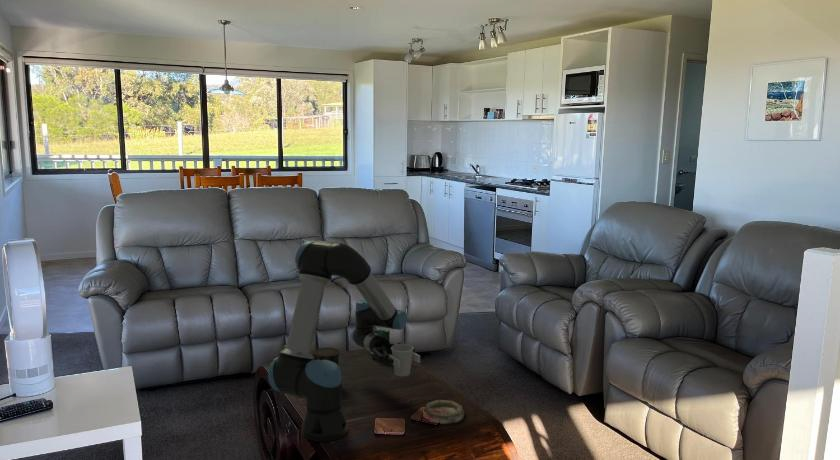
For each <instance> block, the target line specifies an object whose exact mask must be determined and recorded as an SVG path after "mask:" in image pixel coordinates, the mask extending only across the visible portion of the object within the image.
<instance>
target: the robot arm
mask: <svg viewBox="0 0 840 460" xmlns="http://www.w3.org/2000/svg"><path fill="white" fill-rule="evenodd" d="M294 259H295V266H296V268H297V269H298V270H299V271H298V276H299V278H300V280H301V282H300V286H299V291H298V295H297V298H296V303H295V306H294V311H293V316H292V319H291V324H290V328H289V332H288V337H287V340H286V341H287V342H286V344H285V345H286V348H285V349H284V348H283V349H282V350H280V352H279V356H277V357H275V358H274V359H273V360H272V362H270V365H269V367H268V372H267V373H268V374H267V379H268V382H269V384H270V387H271V388H272V390H275V391H277V392H279V393H281V394H282V395H283V394H284V395H290V396H294V397H297V398H300V399H304V400H305V402H306V412H305V415H304V417H303V420H302V424H301V436H302V438H305V439H306V440H309V441H311V442H318V443H319V442H320V443H321V442H322V443H323V442H331V441H335V440H338V439H340V438H342V437H343V436H345V435H346V434H347V432H348V422H347V419H346V417H345V414H344V412H343V411H344V410H343V409H342V382H343V379H342V372H341V366H340V367H339V366H338V365H337V364H336V363H334V362H332V361H328V360H314V355H312V353H311V351H312V346H313V343H314V337H315V334H316V328H317V324H318V320H319V316H320V310H321V306H322V302H323V298H324V293H325V288H326V285H328V284H329V283H330V282H332V279H333V277H334V276H335V277H340V278H342V279H345V280H346V281H347V282H348V284H350V285H352V286H354V287H355V288H356V290H357V291H358V293H359V294H360V295H361V296H362V298H363V299H359V300H357V301H356V302H355V310H354V313H355V327H354V328H353V329H352V332H351V333H350V336H351V340H352V342H353V343H354V344H356V345H357V346H358V347H361V348H363V349H365V350H367V351H368V352H369V356H371V357H372V356H373V357H374V358H376V359H375V360H377V361H378V363H380V364H382V363H384V364H385V365H389V364H391V365H393V367H394V366H396V367H398V368H400V360H399V359H397V358H395V357H393V356H392V350H391V347H392V346H394V345H395V344H394V343H391V341H390V340H388V339H387V338H385V337H383V336H381V335H379V334H377V333H375V332H374V329H375V326H376V327H381V328H387V329H392V330H397V331H398V330H399V331H400V330H401V331H402V330H403V329H404V328H406V327H405V326H406V325H407V323H408V322H407V321H408V315H407V312H406V311H404V310H401V309H397V308H396V307H395V305H394V304H393V302H392V301H391V300H390V298H389V297H388V295H387V294H386V292H385V290H383V288H382V286H381V285H380V284H379V282H378V281H377V279H376V277H375V276H374V274H373V273H372V267H371V265H370V264H369V263H368V261H367V260H366V259H365V258H364V256H363V255H361V254H360V253H359V252H358V251H357V250H355V249H354V248H353V247H352V246H350V245H348V244H345V243H342V242H334V241H325V240H319V239H318V240H316V239H315V240H306V241H305V242H303V243H302V244H301V245H300V246H299V248H298V250H297V251H296V254H295V257H294ZM397 344H402V343H401V342H397ZM388 354H389V357H388ZM374 358H373V359H374ZM412 361H414V362H416V363H418V364H420V363H421V355H419V354H418V353H417V352H416V349H415V348H414V349H413V353H412Z"/></svg>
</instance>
